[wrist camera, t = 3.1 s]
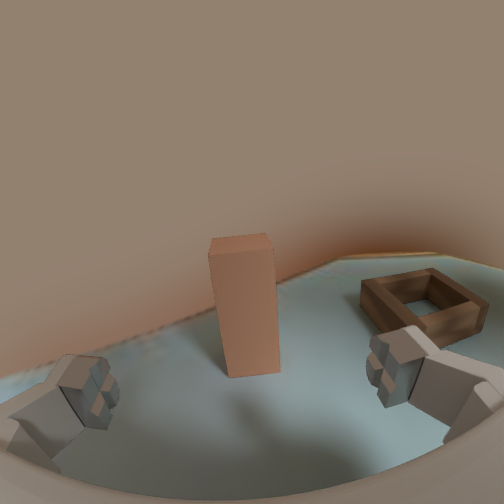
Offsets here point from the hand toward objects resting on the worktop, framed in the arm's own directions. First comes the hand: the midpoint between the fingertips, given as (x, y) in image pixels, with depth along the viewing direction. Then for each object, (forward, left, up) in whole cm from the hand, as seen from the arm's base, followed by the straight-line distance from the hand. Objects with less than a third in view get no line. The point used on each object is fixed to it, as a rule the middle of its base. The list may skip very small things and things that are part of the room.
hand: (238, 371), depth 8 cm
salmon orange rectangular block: (0, -12, -10) cm, 15 cm away
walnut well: (-17, -13, -9) cm, 24 cm away
